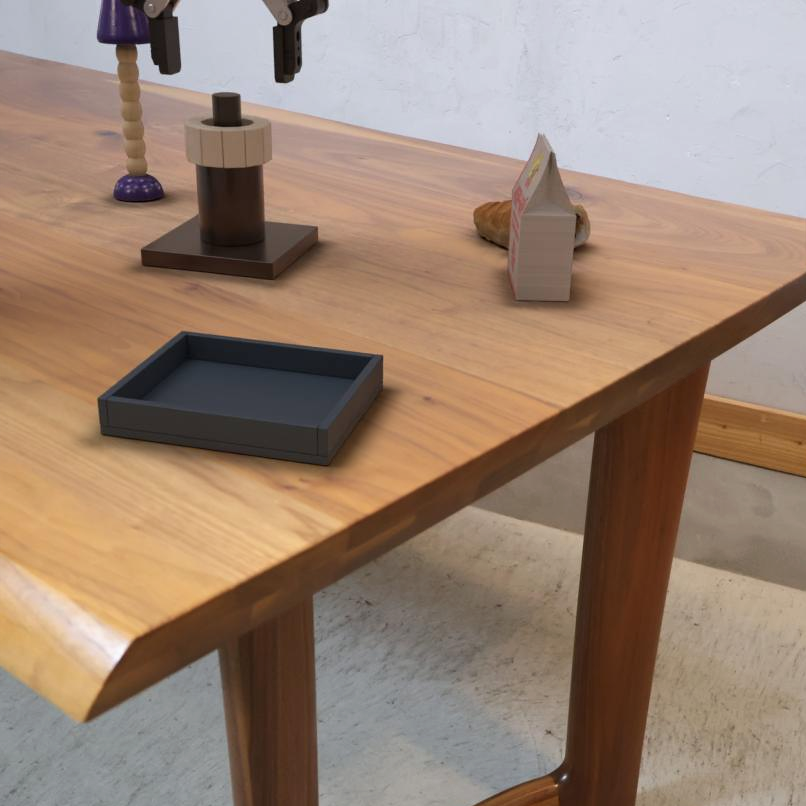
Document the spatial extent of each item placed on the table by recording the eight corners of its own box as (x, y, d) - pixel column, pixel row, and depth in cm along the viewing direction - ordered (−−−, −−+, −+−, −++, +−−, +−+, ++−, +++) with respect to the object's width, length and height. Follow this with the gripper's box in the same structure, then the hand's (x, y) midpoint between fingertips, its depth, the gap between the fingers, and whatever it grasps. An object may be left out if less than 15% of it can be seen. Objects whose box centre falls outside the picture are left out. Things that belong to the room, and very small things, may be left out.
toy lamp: (101, 192, 100) (81, -13, 93) (149, 185, 103) (134, -15, 96) (128, 204, 97) (110, -8, 90) (177, 197, 100) (163, -9, 93)
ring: (172, 163, 81) (170, 126, 80) (207, 146, 86) (205, 111, 85) (253, 171, 80) (251, 133, 79) (282, 153, 85) (282, 117, 84)
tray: (100, 434, 58) (96, 398, 57) (183, 362, 67) (181, 330, 66) (327, 466, 56) (327, 429, 55) (383, 387, 65) (383, 354, 64)
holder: (141, 264, 83) (127, 100, 78) (198, 228, 91) (189, 78, 86) (273, 279, 81) (268, 112, 76) (318, 241, 90) (316, 88, 85)
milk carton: (556, 270, 85) (568, 133, 81) (568, 301, 79) (581, 154, 75) (507, 269, 85) (515, 132, 80) (515, 299, 79) (525, 152, 74)
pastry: (453, 238, 92) (455, 190, 90) (502, 222, 97) (505, 177, 95) (551, 263, 87) (555, 213, 85) (598, 245, 92) (602, 198, 90)
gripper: (80, -193, 71) (108, 79, 78) (299, -188, 69) (306, 93, 76) (136, -187, 78) (157, 64, 85) (338, -182, 75) (341, 76, 82)
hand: (227, 77), depth 80 cm, fingers open, 8 cm apart
